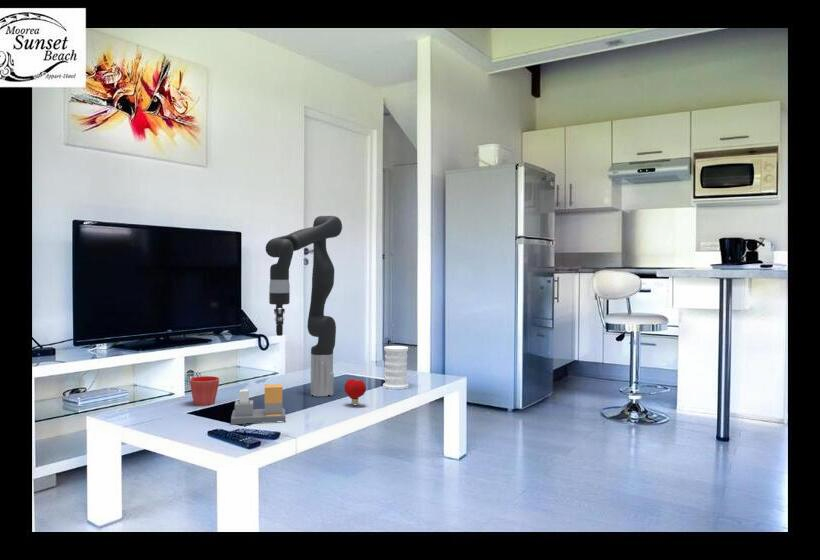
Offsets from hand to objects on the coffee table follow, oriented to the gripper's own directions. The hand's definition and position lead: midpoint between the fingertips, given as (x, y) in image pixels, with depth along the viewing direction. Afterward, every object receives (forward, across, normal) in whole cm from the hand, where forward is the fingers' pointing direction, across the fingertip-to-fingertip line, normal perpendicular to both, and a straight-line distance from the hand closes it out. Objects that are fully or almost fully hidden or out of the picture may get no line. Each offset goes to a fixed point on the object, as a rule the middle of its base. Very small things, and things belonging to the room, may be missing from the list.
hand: (279, 334), depth 224 cm
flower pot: (+28, +12, +28) cm, 42 cm away
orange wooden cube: (+22, -16, +2) cm, 27 cm away
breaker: (+23, -16, +12) cm, 31 cm away
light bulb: (+28, -2, -29) cm, 40 cm away
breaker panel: (+28, -16, +7) cm, 33 cm away
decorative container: (+28, +30, -52) cm, 66 cm away
